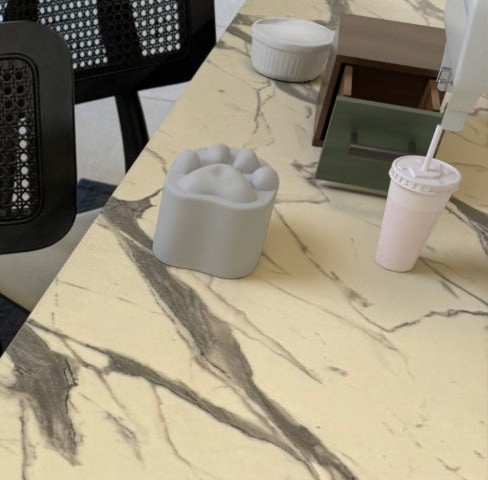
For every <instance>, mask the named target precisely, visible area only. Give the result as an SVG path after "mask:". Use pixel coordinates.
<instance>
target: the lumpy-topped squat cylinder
mask: <svg viewBox="0 0 488 480" xmlns="http://www.w3.org/2000/svg"><path fill="white" fill-rule="evenodd" d="M279 187H280V177H279V175H278V173H277V171H276V169H274V168H273V167H272V166H271V165H270V164H269V163H268V162H267V161H265V160H264V159H263V158H262V157H259V156H258V155H257V154H256V152H255V150H253V149H250V148H243V149H242V148H239V147H238V148H237V147H232V146H228V145H227V144H225V143H220V142H219V143H218V142H217V143H215V144H212V145H211V146H207V147H206V146H205V147H200V148H196V149H183V150H181V151H180V152H179V153H177V155H176V156H175V158H174V161H173V162H171V164H170V166H169V168H168V170H167V172H166V174H165V178H164V182H163V188H162V193H161V199H160V203H159V209H158V214H157V220H156V224H155V225H156V226H155V231H154V236H153V242H152V254H153V255H154V256H155V258H156V259H157V260H158V261H160V262H162V263H163V264H165V265H168V266H170V267H174V268H179V269H186V270H192V271H197V272H201V273H205V274H207V275H210V276H214V277H216V278H220V279H228V280H232V279H233V280H234V279H242V278H244V277H247V276H249V275H250V274H251V273H252V272H254V270H255V268H256V267H257V265H258V264H259V262H260V259H261V256H262V252H263V249H264V245H265V242H266V238H267V234H268V231H269V226H270V222H271V220H272V219H271V218H272V214H273V210H274V207H275V203H276V200H277V196H278V191H279Z"/></svg>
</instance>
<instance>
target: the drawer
mask: <svg viewBox="0 0 488 480" xmlns="http://www.w3.org/2000/svg"><path fill="white" fill-rule="evenodd" d="M436 80H437V78H436V77H430V76H423V75H417V74H411V73H405V72H399V71H393V70H386V69H380V68H374V67H368V66H362V65H356V64H350V63H344V67H343V70H342V74H341V77H340V81H339V84H338V88H337V92H336V95H335V99H334V102H333V106H332V109H331V113H330V116H329V120H328V123H327V127H326V137H325V140H324V144H323V147H321V151H320V155H319V158H318V161H317V166H316V169H315V172H314V180H319V181H325V182H331V183H337V184H343V185H347V186H348V185H349V186H354V187H359V188H366V189H370V190H374V191H375V190H376V191H381V192H386V193H388V191H389V186H390V182H391V177H390V175H389V171H390V169H391V167H392V163H393V161H394V160H396V159H397V158H400V157H403V156H425V157H426V156H427V153H428V150H429V147H430V145H431V142H432V139H433V136H434V133H435V131H436V128H437V125H441V117H442V114H443V112H441V111H442V109H441V108H440V101H439V92H438V87H437V82H436ZM445 133H446V130H444V129H443V130H442V133H441V135H440V138H439V141H438V144H437V147H436V149H435V152H434V155H433V158H434V159H436V157H437V154H438V152H439V149H440V146H441V143H442V140H443V138H444V135H445Z"/></svg>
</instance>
